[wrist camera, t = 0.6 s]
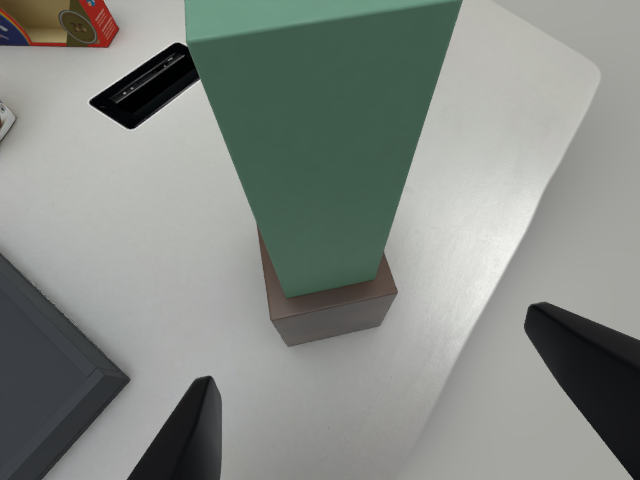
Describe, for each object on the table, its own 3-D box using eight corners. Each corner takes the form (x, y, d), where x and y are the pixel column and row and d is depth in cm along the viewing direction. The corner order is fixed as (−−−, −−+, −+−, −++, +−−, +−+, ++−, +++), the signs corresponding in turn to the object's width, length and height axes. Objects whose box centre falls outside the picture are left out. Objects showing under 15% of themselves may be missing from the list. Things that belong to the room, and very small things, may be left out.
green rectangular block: (340, 169, 22) (351, -146, 10) (375, 279, 18) (465, -4, 6) (266, 183, 22) (178, -125, 9) (286, 299, 18) (184, 40, 6)
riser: (346, 214, 29) (351, 155, 23) (380, 325, 24) (398, 292, 18) (268, 230, 29) (249, 174, 22) (287, 347, 24) (270, 321, 17)
